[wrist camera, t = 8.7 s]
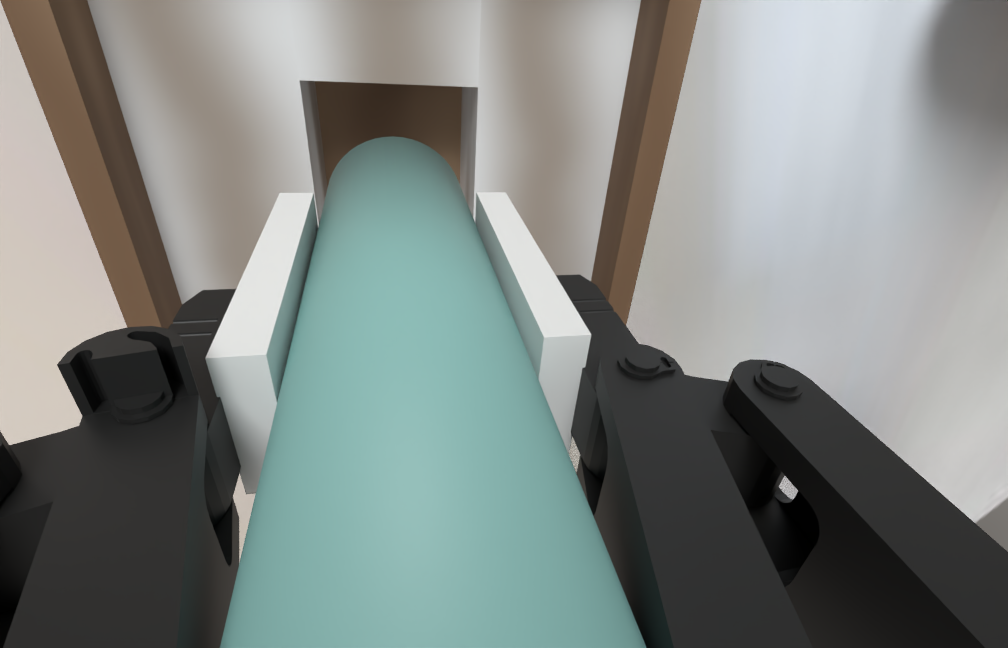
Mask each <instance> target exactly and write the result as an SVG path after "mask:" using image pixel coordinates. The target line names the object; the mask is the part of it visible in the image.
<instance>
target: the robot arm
mask: <svg viewBox="0 0 1008 648" xmlns="http://www.w3.org/2000/svg"><path fill="white" fill-rule="evenodd" d="M475 224H476V226H477V229H478V231H479V233H480V236H481V238H482V241H483V243H484V246H485V248H486V251H487V253H488V256H489V258H490V261H491V263H492V266H493V268H494V271H495V273H496V276H497V278H498V281H499V283H500V286H501V288H502V291H503V293H504V295H505V298H506V300H507V303H508V305H509V308H510V310H511V313H512V315H513V318H514V320H515V323H516V325H517V328H518V330H519V333H520V335H521V338H522V340H523V343H524V345H525V348H526V350H527V352H528V355H529V357H530V360H531V362H532V365H533V367H534V370H535V372H536V375H537V377H538V380H539V382H540V385H541V387H542V390H543V392H544V395H545V397H546V400H547V402H548V405H549V407H550V410H551V412H552V414H553V417H554V419H555V422H556V424H557V427H558V429H559V432H560V434H561V437H562V439H563V442H564V444H565V447H566V449H567V452H568V454H569V450H570V445H571V440H572V436H573V438H574V441H575V443H576V445H577V448H578V450H579V452H580V459H579V464H578V469H577V476H578V479H579V481H580V484H581V486H582V489H583V491H584V494H585V496H586V499H587V501H588V504H589V506H590V509H591V511H592V514H593V516H594V519H595V521H596V524H597V526H598V529H599V531H600V533H601V536H602V538H603V541H604V543H605V546H606V548H607V551H608V553H609V556H610V558H611V561H612V563H613V566H614V568H615V571H616V573H617V576H618V578H619V581H620V583H621V586H622V588H623V591H624V593H625V595H626V598H627V600H628V603H629V605H630V608H631V610H632V613H633V615H634V618H635V620H636V623H637V625H638V628H639V630H640V633H641V635H642V638H643V640H644V643H645V645H646V648H1008V552H1007V551H1006V550H1005V549H1004V548H1003V547H1001V546H1000V545H999V544H998V543H997V542H996V541H995V540H993V539H992V538H991V537H990V536H989V535H988V534H987V533H985V532H984V531H983V530H982V529H981V528H980V527H979V526H977V525H976V524H975V523H974V522H973V521H972V520H971V519H969V518H968V517H967V516H966V515H965V514H964V513H963V512H961V511H960V510H959V509H958V508H957V507H956V506H955V505H953V504H952V503H951V502H950V501H949V500H948V499H947V498H945V497H944V496H943V495H942V494H941V493H940V492H939V491H937V490H936V489H935V488H934V487H933V486H932V485H931V484H929V483H928V482H927V481H926V480H925V479H924V478H923V477H921V476H920V475H919V474H918V473H917V472H916V471H915V470H913V469H912V468H911V467H910V466H909V465H908V464H907V463H905V462H904V461H903V460H902V459H901V458H900V457H899V456H897V455H896V454H895V453H894V452H893V451H892V450H891V449H889V448H888V447H887V446H886V445H885V444H884V443H883V442H881V441H880V440H879V439H878V438H877V437H876V436H875V435H873V434H872V433H871V432H870V431H869V430H868V429H867V428H865V427H864V426H863V425H862V424H861V423H860V422H859V421H857V420H856V419H855V418H854V417H853V416H852V415H851V414H849V413H848V412H847V411H846V410H845V409H844V408H843V407H841V406H840V405H839V404H838V403H837V402H836V401H835V400H833V399H832V398H831V397H830V396H829V395H828V394H827V393H825V392H824V391H823V390H822V389H821V388H820V387H819V386H817V385H816V384H815V383H814V382H813V381H812V380H810V379H809V378H807V377H806V376H805V375H803V374H802V373H800V372H799V371H797V370H795V369H792V368H790V367H788V366H786V365H784V364H781V363H778V362H773V361H768V360H747V361H744V362H740V363H739V364H738V365H737V366H736V367H735V368H734V369H733V371H732V374H731V376H730V379H729V382H726V381H719V380H712V379H705V378H698V377H692V376H687V375H684V373H683V371H682V368H681V367H680V366H679V365H678V363H677V362H676V361H675V359H673V358H672V357H670V356H669V355H667V354H666V353H664V352H663V351H661V350H658V349H656V348H653V347H650V346H648V345H642V344H638V342H637V341H636V339H635V338H634V337H633V335H632V334H631V332H630V331H629V330H628V328H627V327H626V325H625V324H624V323H623V321H622V320H621V319H620V317H619V316H618V314H617V313H616V312H614V309H613V307H612V306H611V305H610V303H609V302H608V301H606V298H605V296H604V295H603V293H602V292H601V291H600V289H599V288H598V286H597V285H595V284H594V283H592V282H591V281H589V280H588V279H586V278H585V277H583V276H581V275H580V274H578V275H555V273H554V272H553V270H552V269H551V267H550V265H549V264H548V262H547V260H546V259H545V257H544V255H543V254H542V252H541V250H540V249H539V247H538V245H537V244H536V242H535V240H534V239H533V237H532V235H531V234H530V232H529V230H528V229H527V227H526V225H525V224H524V222H523V220H522V219H521V217H520V215H519V214H518V212H517V210H516V209H515V207H514V205H513V204H512V202H511V200H510V199H509V197H508V196H507V194H506V192H476V216H475ZM317 231H318V222H317V215H316V207H315V200H314V193H279V196H278V198H277V200H276V202H275V204H274V207H273V209H272V211H271V213H270V216H269V218H268V220H267V222H266V224H265V227H264V229H263V231H262V233H261V236H260V238H259V240H258V242H257V244H256V247H255V249H254V251H253V253H252V256H251V258H250V260H249V262H248V264H247V267H246V269H245V271H244V273H243V276H242V278H241V280H240V282H239V284H238V287H237V289H217V290H202V291H201V292H199V293H198V294H196V295H195V296H194V297H192V298H191V299H189V300H188V301H186V302H185V303H184V304H182V306H181V308H180V309H179V311H178V313H177V314H176V316H175V318H174V319H173V324H170V326H169V328H168V329H167V328H161V327H156V326H140V327H128V328H124V329H119V330H115V331H110V332H106V333H104V334H101V335H99V336H96V337H94V338H91V339H89V340H86V341H84V342H83V343H81V344H80V345H78V346H76V347H75V348H73V349H72V350H70V351H69V352H67V353H66V355H65V356H64V357H63V358H62V359H61V361H60V362H59V363H58V364H57V366H58V368H59V370H60V372H61V374H62V376H63V378H64V380H65V382H66V384H67V386H68V388H69V390H70V392H71V394H72V396H73V398H74V400H75V402H76V404H77V406H78V408H79V410H80V412H81V414H82V419H81V422H80V425H79V426H77V427H74V428H71V429H68V430H65V431H62V432H58V433H54V434H51V435H47V436H43V437H39V438H36V439H32V440H28V441H24V442H21V443H17V444H13V445H9V444H8V443H7V441H6V440H5V438H4V436H3V435H2V433H1V432H0V648H220V644H221V640H222V636H223V632H224V627H225V623H226V619H227V615H228V610H229V606H230V602H231V598H232V593H233V589H234V585H235V581H236V576H237V572H238V568H239V516H238V513H237V509H236V506H235V503H234V500H233V494H234V490H235V487H236V483H237V479H238V476H239V472H240V475H241V479H242V482H243V485H244V488H245V492H246V494H253V493H256V491H257V487H258V482H259V478H260V474H261V470H262V465H263V461H264V457H265V453H266V448H267V444H268V440H269V436H270V431H271V427H272V423H273V419H274V414H275V410H276V406H277V401H278V397H279V393H280V389H281V384H282V380H283V376H284V372H285V367H286V363H287V359H288V355H289V350H290V346H291V342H292V338H293V333H294V329H295V325H296V320H297V316H298V312H299V308H300V303H301V299H302V295H303V291H304V286H305V282H306V278H307V274H308V269H309V265H310V261H311V257H312V252H313V248H314V244H315V239H316V235H317ZM784 475H785V476H786V477H787V478H788V479H789V481H790V482H791V483H792V484H793V485H794V486H795V487H796V489H797V490H798V493H797V494H796V496H795V498H794V499H793V500H792V499H790V498H788V497H787V496H786V495H785V494H784V493H783V492H782V491H781V489H780V488H779V485H780V483H781V481H782V479H783V477H784Z"/></svg>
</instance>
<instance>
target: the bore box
mask: <svg viewBox="0 0 1008 648" xmlns="http://www.w3.org/2000/svg"><path fill="white" fill-rule="evenodd" d="M0 1H1V3H2V6H3V8H4V11H5V14H6V16H7V19H8V21H9V24H10V26H11V29H12V32H13V34H14V37H15V39H16V42H17V44H18V47H19V50H20V52H21V55H22V57H23V60H24V62H25V65H26V68H27V70H28V73H29V75H30V78H31V80H32V83H33V86H34V88H35V91H36V93H37V96H38V98H39V101H40V104H41V106H42V109H43V111H44V114H45V116H46V119H47V122H48V124H49V127H50V129H51V132H52V134H53V137H54V140H55V142H56V145H57V147H58V150H59V152H60V155H61V158H62V160H63V163H64V165H65V168H66V170H67V173H68V176H69V178H70V181H71V183H72V186H73V188H74V191H75V194H76V196H77V199H78V201H79V204H80V206H81V209H82V212H83V214H84V217H85V219H86V222H87V224H88V227H89V230H90V232H91V235H92V237H93V240H94V242H95V245H96V248H97V250H98V253H99V255H100V258H101V260H102V263H103V266H104V268H105V271H106V273H107V276H108V278H109V281H110V284H111V286H112V289H113V291H114V294H115V296H116V299H117V302H118V304H119V307H120V309H121V312H122V314H123V317H124V320H125V322H126V325H127V327H140V326H156V327H161V328H167V329H168V328H169V326H170V324H173V319H174V318H175V316H176V314H177V313H178V311H179V309H180V308H181V306H182V304H184V303H185V302H186V301H188V300H189V299H191V298H192V297H194V296H195V295H196V294H198V293H199V292H201V291H202V290H217V289H237V287H238V284H239V282H240V280H241V278H242V276H243V273H244V271H245V269H246V267H247V264H248V262H249V260H250V258H251V256H252V253H253V251H254V249H255V247H256V244H257V242H258V240H259V238H260V236H261V233H262V231H263V229H264V227H265V224H266V222H267V220H268V218H269V216H270V213H271V211H272V209H273V207H274V204H275V202H276V200H277V198H278V196H279V193H314V200H315V207H316V215H317V222H318V227H319V222H320V218H321V214H322V210H323V205H324V201H325V197H326V193H327V188H328V184H329V180H330V177H331V175H332V173H333V171H334V169H335V167H336V165H337V164H338V163H339V161H340V160H341V159H342V158H343V157H344V156H345V155H346V154H347V153H348V152H349V151H350V150H352V149H353V148H355V147H356V146H358V145H360V144H362V143H364V142H366V141H369V140H372V139H375V138H381V137H393V136H394V137H404V138H408V139H413V140H415V141H418V142H421V143H423V144H425V145H427V146H429V147H430V148H432V149H433V150H435V151H436V152H437V153H438V154H440V155H441V156H442V157H443V158H444V159H445V160H446V161H447V163H448V164H449V165H450V167H451V168H452V170H453V171H454V173H455V175H456V177H457V179H458V181H459V184H460V186H461V189H462V191H463V194H464V196H465V199H466V201H467V204H468V206H469V209H470V211H471V214H472V216H473V219H474V221H475V216H476V192H506V194H507V196H508V197H509V199H510V200H511V202H512V204H513V205H514V207H515V209H516V210H517V212H518V214H519V215H520V217H521V219H522V220H523V222H524V224H525V225H526V227H527V229H528V230H529V232H530V234H531V235H532V237H533V239H534V240H535V242H536V244H537V245H538V247H539V249H540V250H541V252H542V254H543V255H544V257H545V259H546V260H547V262H548V264H549V265H550V267H551V269H552V270H553V272H554V273H555V275H578V274H580V275H581V276H583V277H585V278H586V279H588V280H589V281H591V282H592V283H594V284H595V285H597V286H598V288H599V289H600V291H601V292H602V293H603V295H604V296H605V298H606V301H608V302H609V303H610V305H611V306H612V307H613V309H614V312H616V313H617V314H618V316H619V317H620V319H621V320H622V321H623V323H624V324H625V325H626V323H627V319H628V315H629V310H630V306H631V302H632V297H633V293H634V289H635V284H636V280H637V276H638V271H639V267H640V263H641V258H642V254H643V250H644V245H645V241H646V237H647V232H648V228H649V224H650V220H651V215H652V211H653V207H654V202H655V198H656V194H657V189H658V185H659V181H660V176H661V172H662V168H663V163H664V159H665V155H666V150H667V146H668V142H669V137H670V133H671V129H672V125H673V120H674V116H675V112H676V107H677V103H678V99H679V94H680V90H681V86H682V81H683V77H684V73H685V68H686V64H687V60H688V55H689V51H690V47H691V42H692V38H693V34H694V30H695V25H696V21H697V17H698V12H699V8H700V4H701V0H0Z"/></svg>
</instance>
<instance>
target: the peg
mask: <svg viewBox="0 0 1008 648" xmlns="http://www.w3.org/2000/svg"><path fill="white" fill-rule="evenodd" d="M220 648H646V645H645V643H644V640H643V638H642V635H641V633H640V630H639V628H638V625H637V623H636V620H635V618H634V615H633V613H632V610H631V608H630V605H629V603H628V600H627V598H626V595H625V593H624V591H623V588H622V586H621V583H620V581H619V578H618V576H617V573H616V571H615V568H614V566H613V563H612V561H611V558H610V556H609V553H608V551H607V548H606V546H605V543H604V541H603V538H602V536H601V533H600V531H599V529H598V526H597V524H596V521H595V519H594V516H593V514H592V511H591V509H590V506H589V504H588V501H587V499H586V496H585V494H584V491H583V489H582V486H581V484H580V481H579V479H578V476H577V474H576V472H575V469H574V467H573V464H572V462H571V459H570V457H569V454H568V452H567V449H566V447H565V444H564V442H563V439H562V437H561V434H560V432H559V429H558V427H557V424H556V422H555V419H554V417H553V414H552V412H551V410H550V407H549V405H548V402H547V400H546V397H545V395H544V392H543V390H542V387H541V385H540V382H539V380H538V377H537V375H536V372H535V370H534V367H533V365H532V362H531V360H530V357H529V355H528V352H527V350H526V348H525V345H524V343H523V340H522V338H521V335H520V333H519V330H518V328H517V325H516V323H515V320H514V318H513V315H512V313H511V310H510V308H509V305H508V303H507V300H506V298H505V295H504V293H503V291H502V288H501V286H500V283H499V281H498V278H497V276H496V273H495V271H494V268H493V266H492V263H491V261H490V258H489V256H488V253H487V251H486V248H485V246H484V243H483V241H482V238H481V236H480V233H479V231H478V229H477V226H476V224H475V221H474V219H473V216H472V214H471V211H470V209H469V206H468V204H467V201H466V199H465V196H464V194H463V191H462V189H461V186H460V184H459V181H458V179H457V177H456V175H455V173H454V171H453V170H452V168H451V167H450V165H449V164H448V163H447V161H446V160H445V159H444V158H443V157H442V156H441V155H440V154H438V153H437V152H436V151H435V150H433V149H432V148H430V147H429V146H427V145H425V144H423V143H421V142H418V141H415V140H413V139H408V138H404V137H394V136H393V137H381V138H375V139H372V140H369V141H366V142H364V143H362V144H360V145H358V146H356V147H355V148H353V149H352V150H350V151H349V152H348V153H347V154H346V155H345V156H344V157H343V158H342V159H341V160H340V161H339V163H338V164H337V165H336V167H335V169H334V171H333V173H332V175H331V177H330V180H329V184H328V188H327V193H326V197H325V201H324V205H323V210H322V214H321V218H320V222H319V227H318V231H317V235H316V239H315V244H314V248H313V252H312V257H311V261H310V265H309V269H308V274H307V278H306V282H305V286H304V291H303V295H302V299H301V303H300V308H299V312H298V316H297V320H296V325H295V329H294V333H293V338H292V342H291V346H290V350H289V355H288V359H287V363H286V367H285V372H284V376H283V380H282V384H281V389H280V393H279V397H278V401H277V406H276V410H275V414H274V419H273V423H272V427H271V431H270V436H269V440H268V444H267V448H266V453H265V457H264V461H263V465H262V470H261V474H260V478H259V482H258V487H257V491H256V495H255V500H254V504H253V508H252V512H251V517H250V521H249V525H248V529H247V534H246V538H245V542H244V546H243V551H242V555H241V559H240V563H239V568H238V572H237V576H236V581H235V585H234V589H233V593H232V598H231V602H230V606H229V610H228V615H227V619H226V623H225V627H224V632H223V636H222V640H221V644H220Z"/></svg>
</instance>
